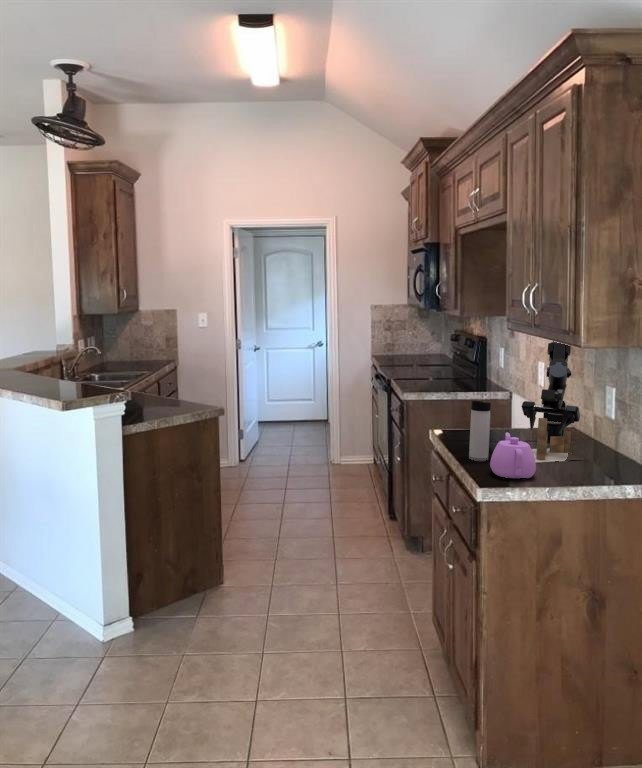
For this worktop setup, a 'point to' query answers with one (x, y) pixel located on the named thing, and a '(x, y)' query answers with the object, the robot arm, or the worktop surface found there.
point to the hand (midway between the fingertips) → (544, 431)
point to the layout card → (551, 456)
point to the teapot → (513, 459)
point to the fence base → (560, 443)
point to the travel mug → (479, 431)
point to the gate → (541, 438)
